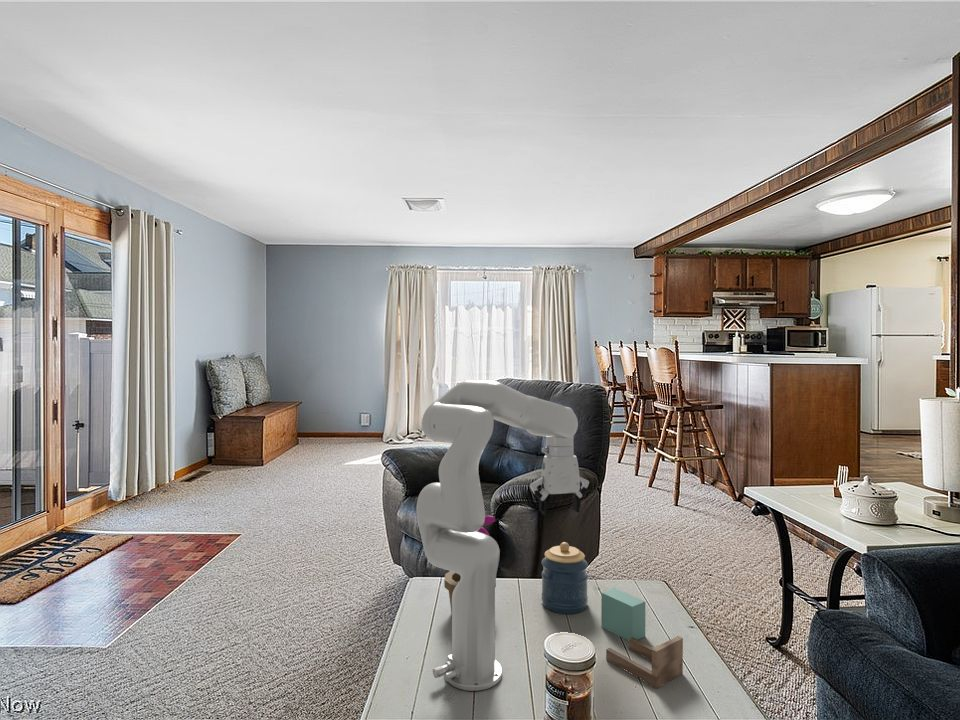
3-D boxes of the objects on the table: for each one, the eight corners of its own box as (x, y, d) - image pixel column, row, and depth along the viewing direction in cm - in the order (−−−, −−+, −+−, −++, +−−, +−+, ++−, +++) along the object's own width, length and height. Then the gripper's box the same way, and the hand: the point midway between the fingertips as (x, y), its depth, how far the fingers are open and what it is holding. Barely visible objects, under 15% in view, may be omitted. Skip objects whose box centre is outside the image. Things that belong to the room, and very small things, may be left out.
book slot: (656, 688, 119) (656, 651, 119) (606, 660, 130) (606, 625, 130) (682, 673, 124) (682, 638, 124) (632, 647, 136) (632, 614, 135)
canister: (556, 618, 150) (557, 553, 150) (533, 599, 162) (533, 538, 162) (597, 609, 155) (597, 546, 155) (571, 591, 167) (571, 532, 167)
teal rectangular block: (632, 643, 138) (632, 606, 138) (601, 626, 146) (601, 592, 146) (645, 636, 141) (645, 601, 141) (614, 621, 149) (614, 587, 149)
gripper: (535, 455, 150) (535, 518, 150) (594, 452, 154) (594, 513, 154) (525, 450, 157) (526, 511, 157) (582, 447, 161) (582, 506, 162)
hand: (559, 512), depth 156 cm, fingers open, 9 cm apart
